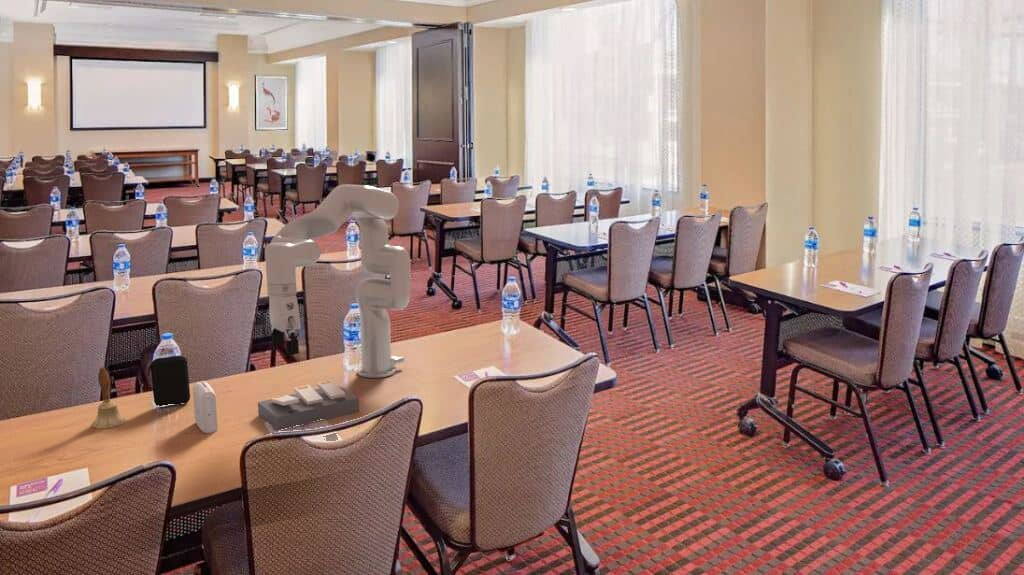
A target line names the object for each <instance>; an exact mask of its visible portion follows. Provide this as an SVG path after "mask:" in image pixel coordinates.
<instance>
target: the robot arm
mask: <svg viewBox="0 0 1024 575" xmlns="http://www.w3.org/2000/svg"><path fill="white" fill-rule="evenodd" d="M399 208H400V202H399V199H398V197H397V196H396V195H395V194H394V193H393V192H391V191H388V190H384V189H381V188H377V187H374V186H372V185H371V186H370V185H365V184H363V185H362V184H348V183H347V184H339V185H337V186H336V187H334V189H332V191H331V192H329V194H328V195H326V197H325V198H324V199H323V200H322V201H321V203H320V204H319V205H318V206H317V207H316V208H315V209H314V210H313V211H310V212H309V213H306V214H304V215H301V216H300V217H298V218H296V219H294V220H292V221H290V222H288V223H287V224H285V225H284V226H282V227H281V229H280V230H278V231H277V233H276V234H275V235H274V236H273V237H272V239H271V241H270V243H268V244H266V245H265V247H264V259H265V274H266V276H265V277H266V288H267V290H266V291H267V296H268V297H269V304H268V305H269V306H268V308H269V309H268V310H269V312H268V313H269V316H268V317H269V321H270V323H269V325H270V332H271V346H272V347H281V346H282V347H283V346H284V345H285V346H286V347H285V349H286V355H287V356H293V355H298V354H299V353H300V347H299V336H300V331H301V319H300V318H301V317H300V310H299V303H298V298H297V292H298V291H297V276H296V275H297V274H296V272H297V271H296V268H300V267H302V268H303V267H304V268H305V267H310V266H313V265H315V264H317V262H318V261H319V259H320V258H321V247H320V245H319V243H318V242H316V241H315V240H314V239H317V238H322V237H325V236H326V237H327V236H329V235H333V234H335V233H336V232H337V231H338V230H339V229H340V228H341V226H342V225H343V224H344V223H345V221H346V220H347V219H348V218H350V216H352V217H353V218H354V219H355V221H356V222H357V224H358V225H359V228H360V234H361V235H360V238H361V239H360V240H361V241H360V242H361V244H360V245H361V246H360V247H361V249H360V253H361V256H360V260H361V268H362V270H363V271H364V273H365V272H366V273H368V274H373V275H379V276H380V275H381V276H388V277H389V279H387V278H380V277H379V278H378V277H367V278H363V279H361V280H360V281H359V282H358V284H357V285H356V289H355V296H356V302H357V304H358V310H359V311H358V312H359V319H360V320H359V321H360V347H361V348H360V351H361V354H360V355H361V366H359V367H358V368H357V369H356V372H357V375H358V376H360V377H364V378H368V379H377V378H378V379H379V378H385V377H390V376H393V375H394V374H395V373H396V372H397V367H396V365H397V364H402V363H405V358H404V356H400V357H398V356H392V350H391V348H392V346H391V343H392V342H391V319H390V316H389V313H388V311H387V310H391V311H392V310H393V311H401V310H402V311H403V310H405V309H406V307H407V306H408V304H409V302H410V298H411V271H412V270H411V266H412V265H411V258H410V254H409V252H408V250H406V249H405V247H402V246H398V245H390V244H389V229H388V225H387V223H386V221H385V220H387V221H388V220H392V219H394V218H395V217H396V216H398V213H399V210H400V209H399ZM284 334H285V336H284ZM285 337H286V341H285Z"/></svg>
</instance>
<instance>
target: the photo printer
mask: <svg viewBox="0 0 1024 575" xmlns="http://www.w3.org/2000/svg"><path fill="white" fill-rule="evenodd" d="M192 396H193V408H194V409H193V410H194V411H193V412H194V419H195V423H196V425H197V427H198V428H199V430H201V431H202V433H206V434H211V433H215V432H216V431H218V427H219V426H218V425H219V424H218V411H217V399H216V397H217V396H216V393H215V391H214V389H213V387H212V386H211V385H210V383H207V382H206V381H197V382H195V384H193V387H192Z"/></svg>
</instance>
